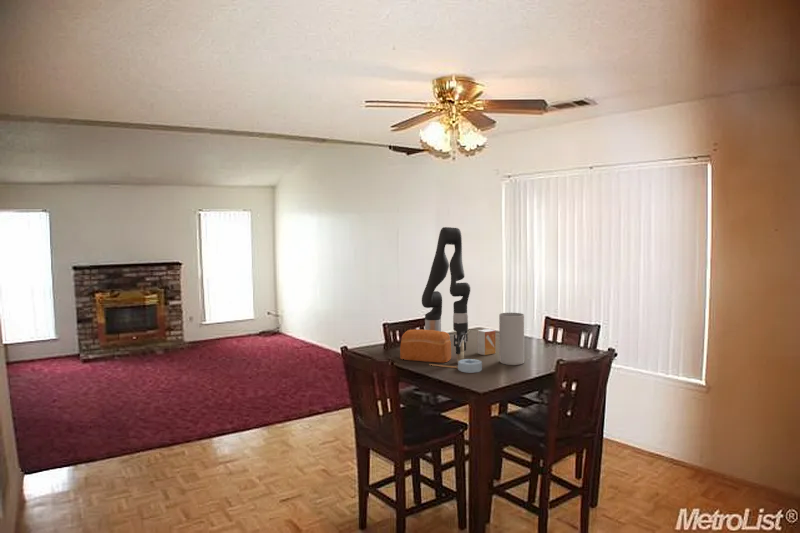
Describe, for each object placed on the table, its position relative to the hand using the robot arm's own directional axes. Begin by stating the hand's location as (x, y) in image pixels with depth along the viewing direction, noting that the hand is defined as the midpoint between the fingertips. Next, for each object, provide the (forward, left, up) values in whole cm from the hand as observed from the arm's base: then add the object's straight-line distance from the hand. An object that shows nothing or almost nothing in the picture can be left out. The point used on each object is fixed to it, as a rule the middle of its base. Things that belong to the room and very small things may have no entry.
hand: (461, 352), depth 283 cm
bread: (-20, +1, -6) cm, 21 cm away
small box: (+6, +25, -6) cm, 26 cm away
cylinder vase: (+24, +11, -6) cm, 27 cm away
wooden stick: (-5, -11, -6) cm, 13 cm away
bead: (+9, -11, -6) cm, 15 cm away
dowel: (0, 0, -6) cm, 6 cm away
